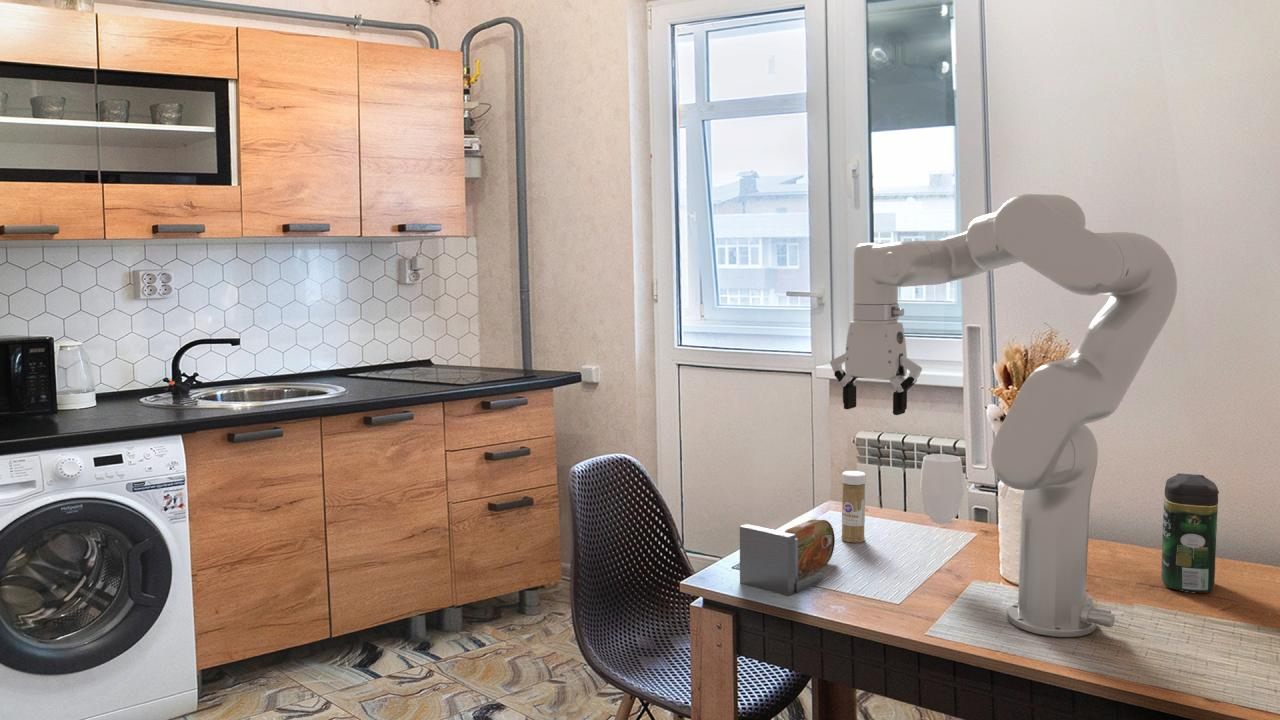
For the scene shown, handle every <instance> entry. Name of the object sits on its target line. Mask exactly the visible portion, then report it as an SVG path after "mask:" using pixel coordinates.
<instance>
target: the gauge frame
mask: <svg viewBox="0 0 1280 720" xmlns="http://www.w3.org/2000/svg"><path fill="white" fill-rule="evenodd" d="M821 581H822V582H823V581H824V572H822V571H820V570H818V571H817V570H814V571H812V572H810V573H808V574H806V575H804V576H801V577H798V579H797V580H795V534H791V533H786V532H785V531H782V530H781V531H780V530H777V529H772V528H767V527H763V526H758V525H755V524H749V523H745V524H742V525H739V583H740V584H742V585H747V586H750V587H755V588H757V589H761V590H765V591H769V592H773V593H775V594H780V595H783V596H787V597H789V596H792V595H794V594H798V593H801V592H802V591H805V590H807V589H809V588H811V587H813V586H815V585H817V584H820V583H821Z"/></svg>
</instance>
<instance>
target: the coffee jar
mask: <svg viewBox="0 0 1280 720" xmlns="http://www.w3.org/2000/svg"><path fill="white" fill-rule="evenodd" d="M1219 494H1220V491H1219V489H1218V486H1217V485H1216V483H1215V482H1213V480H1210V479H1209V478H1207V477H1205V476H1204V475H1203V474H1194V473H1193V474H1191V473H1176V474H1175V475H1173V476H1171V477H1169V478H1168V479H1167V480H1165V487H1164V496H1163V497H1164V498H1163V499H1164V500H1163V510H1162V513H1163V515H1162V539H1161V540H1162V542H1161V544H1162V545H1161V546H1162V549H1161V550H1162V552H1161V580H1162V582H1163V584H1164V586H1165V585H1166V586H1165V587H1167V588H1168V587H1169V588H1168V589H1172V588H1173V590H1176V589H1177V590H1176V591H1179V590H1183V591H1188V592H1200V594H1201V592H1202V593H1210V592H1212V591H1213V590H1214V589H1215V579H1216V578H1215V577H1216V551H1217V550H1216V549H1217V533H1218V532H1217V530H1218V512H1219V511H1218V510H1219Z"/></svg>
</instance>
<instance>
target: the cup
mask: <svg viewBox="0 0 1280 720" xmlns="http://www.w3.org/2000/svg"><path fill="white" fill-rule="evenodd" d="M962 463H963V462H962V459H961V457H960V456H957V455H952V454H945V453H941V454H940V453H939V454H938V453H936V454H935V453H934V454H933V453H932V454H927V455H924V456H923V458H922V463H921V470H920V480H919V491H920V499H921V504H922V507H923V511H924V514H925V515H926V517H929V518H930V519H931V521H932V522H933V523H936V524H938V525H944V524H949V523H950V522H951V520H953V518H956V517H958V514H959V511H960V509H961V505H962V501H963V495H964V489H965V488H964V471H963V464H962Z"/></svg>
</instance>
